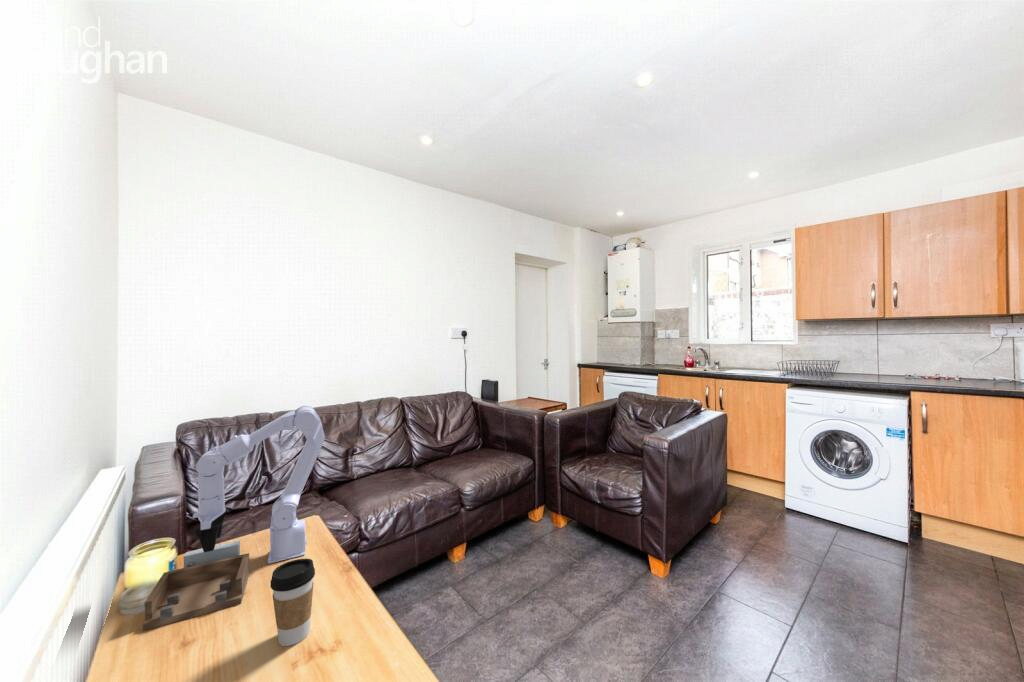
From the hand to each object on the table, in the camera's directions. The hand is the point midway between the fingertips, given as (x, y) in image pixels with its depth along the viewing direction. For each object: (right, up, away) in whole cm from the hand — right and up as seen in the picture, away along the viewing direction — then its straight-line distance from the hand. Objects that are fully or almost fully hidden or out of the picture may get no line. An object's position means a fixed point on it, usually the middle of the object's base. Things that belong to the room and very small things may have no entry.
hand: (212, 544), depth 105 cm
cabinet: (+6, -8, -11) cm, 14 cm away
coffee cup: (+36, -8, -23) cm, 43 cm away
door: (0, -8, 0) cm, 8 cm away
